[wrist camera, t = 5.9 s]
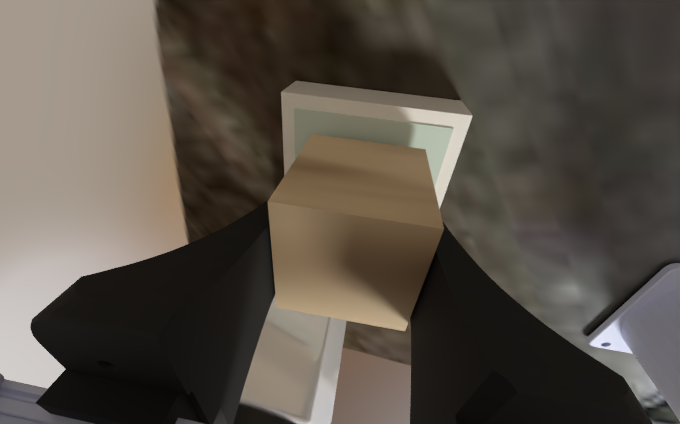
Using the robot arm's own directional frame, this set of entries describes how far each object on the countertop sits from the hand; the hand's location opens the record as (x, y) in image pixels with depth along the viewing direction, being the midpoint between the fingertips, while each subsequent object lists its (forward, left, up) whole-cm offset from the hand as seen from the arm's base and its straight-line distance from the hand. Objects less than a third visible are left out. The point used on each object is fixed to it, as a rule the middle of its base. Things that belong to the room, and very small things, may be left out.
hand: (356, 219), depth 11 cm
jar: (+4, +11, -5) cm, 13 cm away
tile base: (0, 0, -5) cm, 5 cm away
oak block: (0, 0, -2) cm, 2 cm away
